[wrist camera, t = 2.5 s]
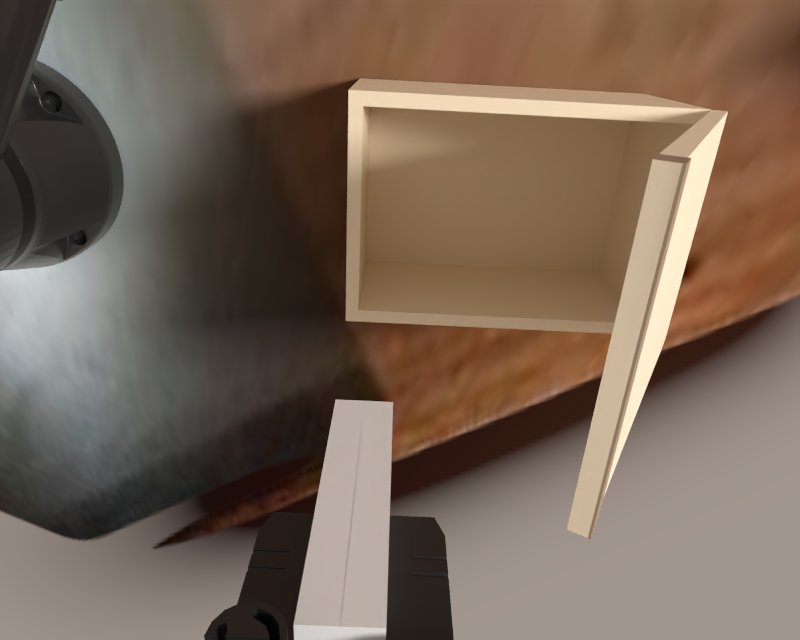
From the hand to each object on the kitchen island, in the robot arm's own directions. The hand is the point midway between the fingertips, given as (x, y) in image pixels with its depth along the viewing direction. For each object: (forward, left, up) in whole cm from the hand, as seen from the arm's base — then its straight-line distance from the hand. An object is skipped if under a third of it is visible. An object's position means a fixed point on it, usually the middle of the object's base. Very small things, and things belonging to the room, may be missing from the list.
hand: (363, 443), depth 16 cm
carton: (+8, 0, -32) cm, 33 cm away
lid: (+13, 0, -13) cm, 18 cm away
